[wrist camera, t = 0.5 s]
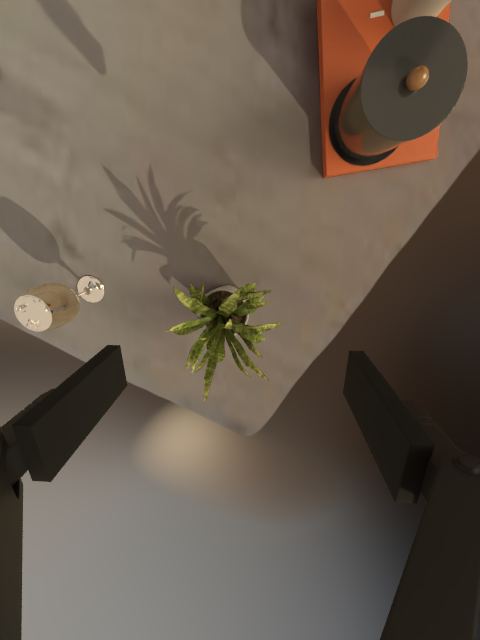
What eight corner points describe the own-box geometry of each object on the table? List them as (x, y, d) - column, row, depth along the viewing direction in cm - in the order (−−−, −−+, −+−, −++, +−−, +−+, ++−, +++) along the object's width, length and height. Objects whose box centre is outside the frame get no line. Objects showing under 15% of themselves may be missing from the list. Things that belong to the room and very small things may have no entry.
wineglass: (85, 310, 45) (28, 341, 34) (66, 278, 44) (-1, 299, 32) (115, 300, 44) (65, 327, 33) (97, 266, 43) (38, 283, 31)
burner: (327, 82, 31) (327, 80, 31) (412, 64, 30) (413, 63, 30) (329, 171, 34) (330, 171, 34) (407, 158, 33) (408, 158, 33)
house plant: (270, 352, 46) (276, 419, 30) (189, 346, 46) (154, 408, 31) (279, 266, 41) (290, 295, 25) (187, 260, 41) (144, 285, 26)
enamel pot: (331, 84, 31) (367, 15, 20) (410, 68, 30) (490, -12, 20) (333, 167, 34) (366, 144, 23) (405, 155, 33) (473, 125, 22)
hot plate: (316, -14, 30) (320, -31, 28) (453, -48, 28) (468, -68, 26) (323, 178, 36) (326, 175, 34) (436, 159, 35) (446, 155, 33)
